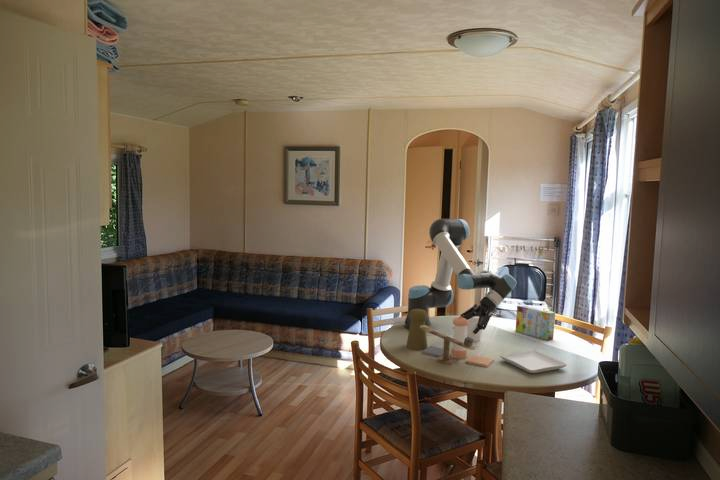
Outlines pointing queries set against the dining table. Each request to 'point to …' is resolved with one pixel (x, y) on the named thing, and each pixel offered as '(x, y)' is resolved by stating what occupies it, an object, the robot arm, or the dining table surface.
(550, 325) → the snack box
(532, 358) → the salad plate
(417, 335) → the pepper shaker
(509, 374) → the dining table surface
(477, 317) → the foam cup
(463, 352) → the pepper shaker
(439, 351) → the dish slate
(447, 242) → the robot arm
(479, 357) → the orange square coaster
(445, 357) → the balance
